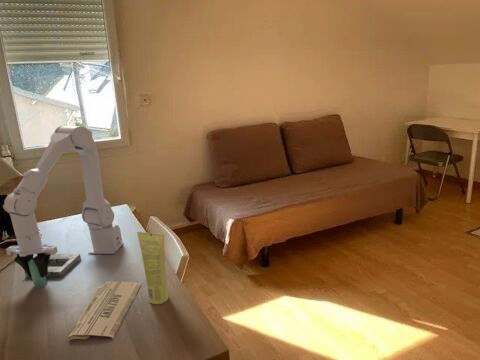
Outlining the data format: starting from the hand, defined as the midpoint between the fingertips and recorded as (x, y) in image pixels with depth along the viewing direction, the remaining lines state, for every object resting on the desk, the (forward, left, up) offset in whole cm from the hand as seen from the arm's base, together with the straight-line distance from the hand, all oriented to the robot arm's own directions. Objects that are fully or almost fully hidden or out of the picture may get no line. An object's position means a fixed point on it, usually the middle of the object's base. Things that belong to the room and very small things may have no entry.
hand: (38, 275), depth 106 cm
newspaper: (-26, +11, -4) cm, 29 cm away
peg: (0, 0, -3) cm, 3 cm away
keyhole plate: (+1, -9, -3) cm, 10 cm away
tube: (-39, +6, -3) cm, 40 cm away
